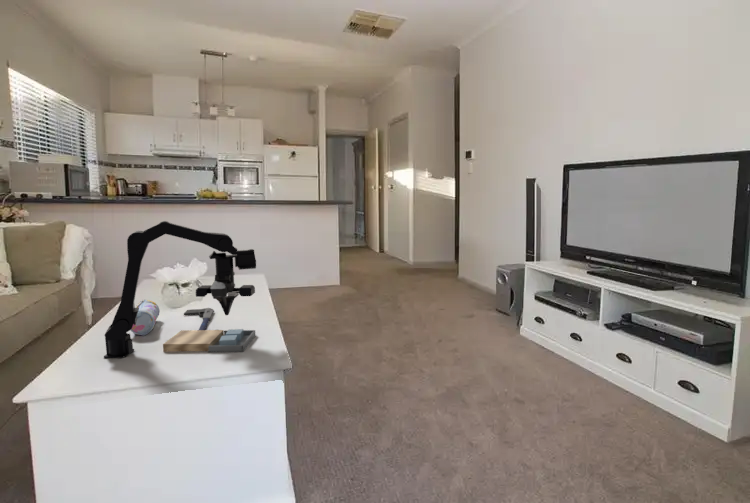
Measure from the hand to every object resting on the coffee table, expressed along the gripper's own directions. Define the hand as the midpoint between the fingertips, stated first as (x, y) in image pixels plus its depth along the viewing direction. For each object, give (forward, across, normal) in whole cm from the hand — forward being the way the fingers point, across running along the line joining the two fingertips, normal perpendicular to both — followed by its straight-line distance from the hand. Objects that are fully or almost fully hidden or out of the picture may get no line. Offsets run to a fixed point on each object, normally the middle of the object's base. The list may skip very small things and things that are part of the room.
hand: (227, 315), depth 150 cm
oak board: (+9, -10, -4) cm, 14 cm away
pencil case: (+9, -36, +14) cm, 40 cm away
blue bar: (+10, -20, +21) cm, 30 cm away
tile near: (+9, +2, -6) cm, 11 cm away
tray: (+9, +3, -4) cm, 10 cm away
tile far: (+9, +2, 0) cm, 9 cm away
